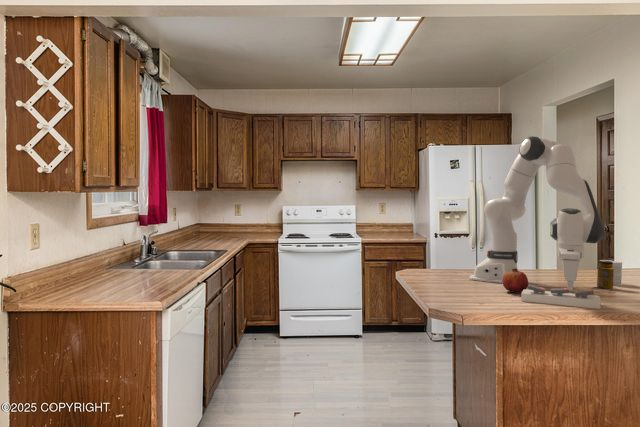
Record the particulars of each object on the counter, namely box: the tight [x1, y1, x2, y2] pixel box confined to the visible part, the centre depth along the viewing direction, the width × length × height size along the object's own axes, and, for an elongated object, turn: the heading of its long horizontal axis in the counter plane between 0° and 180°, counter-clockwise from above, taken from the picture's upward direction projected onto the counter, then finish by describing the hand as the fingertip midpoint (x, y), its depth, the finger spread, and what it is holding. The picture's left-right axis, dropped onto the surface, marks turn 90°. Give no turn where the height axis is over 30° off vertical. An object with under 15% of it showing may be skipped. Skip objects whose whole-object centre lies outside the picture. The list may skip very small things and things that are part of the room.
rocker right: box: [574, 288, 595, 296], centre depth 176 cm, size 6×4×1 cm, turn 61°
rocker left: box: [526, 283, 546, 293], centre depth 183 cm, size 6×4×1 cm, turn 62°
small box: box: [598, 259, 623, 287], centre depth 219 cm, size 8×6×10 cm
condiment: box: [590, 260, 617, 292], centre depth 208 cm, size 7×8×12 cm
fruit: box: [502, 268, 529, 294], centre depth 199 cm, size 11×10×10 cm
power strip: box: [520, 289, 601, 310], centre depth 180 cm, size 26×9×4 cm, turn 62°
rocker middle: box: [550, 287, 570, 293], centre depth 179 cm, size 6×4×1 cm, turn 62°
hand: (570, 289), depth 178 cm, fingers closed, pressing on rocker middle
